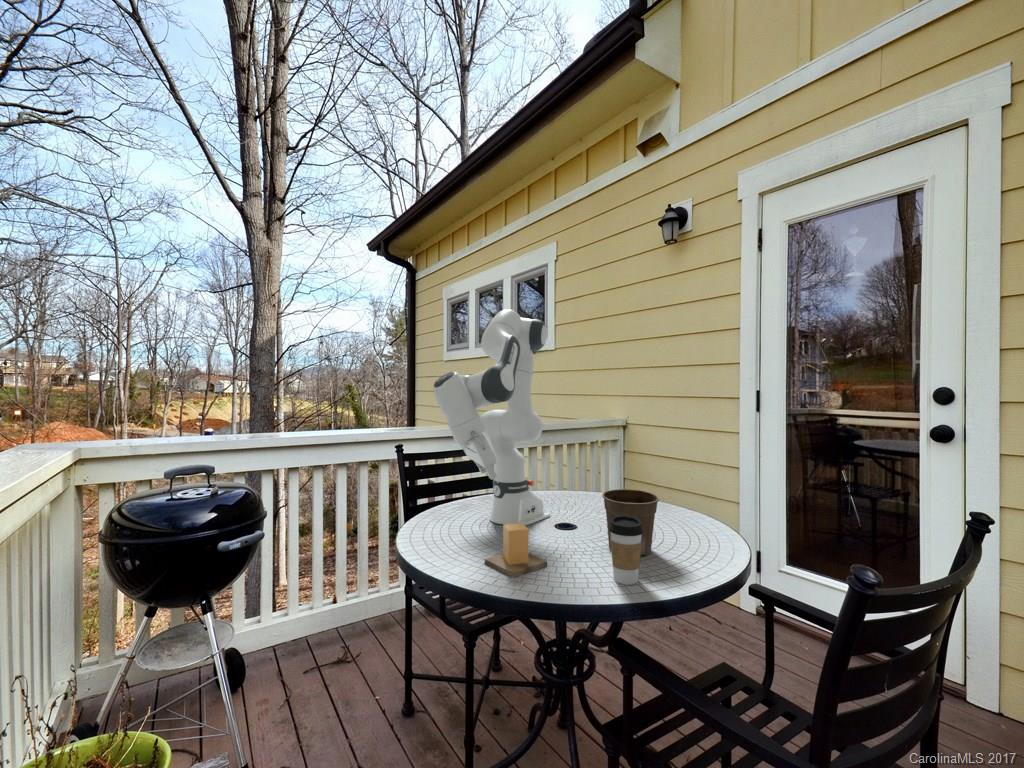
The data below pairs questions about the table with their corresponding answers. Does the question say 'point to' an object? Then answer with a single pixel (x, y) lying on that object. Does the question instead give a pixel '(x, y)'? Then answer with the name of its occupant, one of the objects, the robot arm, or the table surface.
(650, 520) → the plant pot
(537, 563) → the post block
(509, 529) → the tall orange pillar
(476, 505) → the table surface
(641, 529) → the coffee cup
